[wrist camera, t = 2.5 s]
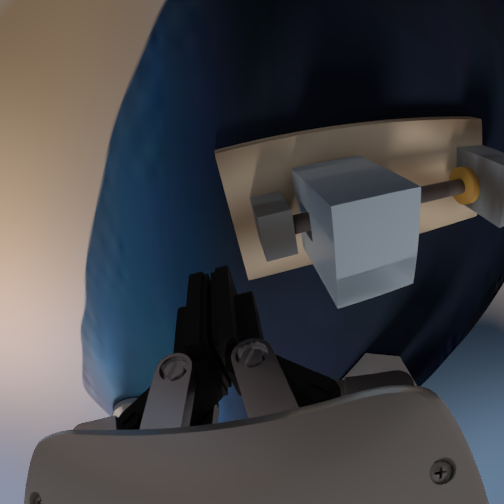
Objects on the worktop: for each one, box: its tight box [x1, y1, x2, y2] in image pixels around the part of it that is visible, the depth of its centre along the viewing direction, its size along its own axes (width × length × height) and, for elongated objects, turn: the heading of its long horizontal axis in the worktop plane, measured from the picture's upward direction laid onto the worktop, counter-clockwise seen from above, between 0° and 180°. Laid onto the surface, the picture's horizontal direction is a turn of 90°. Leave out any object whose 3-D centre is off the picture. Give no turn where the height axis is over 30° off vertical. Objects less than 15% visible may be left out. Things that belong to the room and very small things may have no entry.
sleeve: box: [291, 156, 421, 308], centre depth 17 cm, size 6×5×7 cm
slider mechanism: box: [214, 117, 504, 280], centre depth 18 cm, size 10×24×8 cm, turn 102°
